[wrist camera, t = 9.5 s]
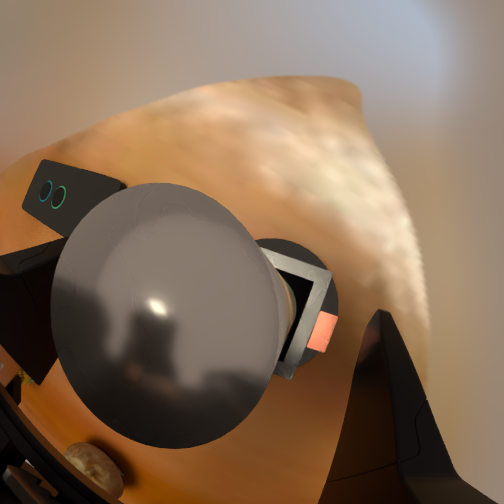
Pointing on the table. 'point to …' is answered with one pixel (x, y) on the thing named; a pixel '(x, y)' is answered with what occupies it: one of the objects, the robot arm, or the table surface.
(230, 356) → the steel post
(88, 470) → the onion
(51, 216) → the smart home device
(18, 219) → the table surface
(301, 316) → the charcoal stand
